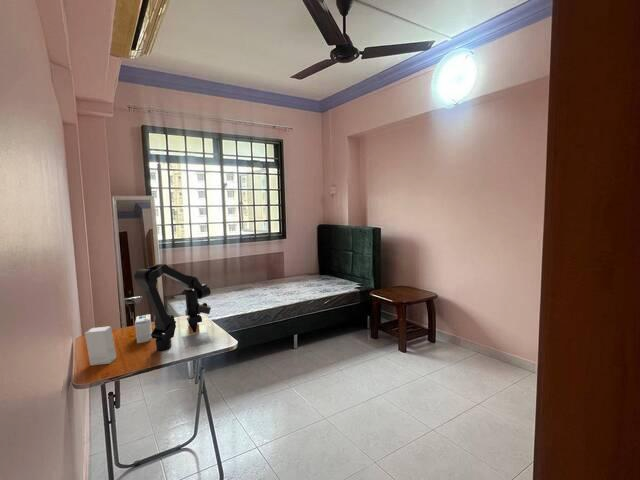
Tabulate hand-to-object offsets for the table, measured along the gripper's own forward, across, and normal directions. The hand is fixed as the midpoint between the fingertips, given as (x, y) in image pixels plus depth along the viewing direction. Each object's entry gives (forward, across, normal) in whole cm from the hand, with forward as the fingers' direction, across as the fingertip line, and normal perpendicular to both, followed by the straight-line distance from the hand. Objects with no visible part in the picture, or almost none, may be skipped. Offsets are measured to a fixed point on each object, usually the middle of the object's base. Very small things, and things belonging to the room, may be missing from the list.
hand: (194, 332), depth 170 cm
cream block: (-1, +2, 0) cm, 2 cm away
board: (+2, -2, 0) cm, 3 cm away
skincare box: (+2, -9, +38) cm, 40 cm away
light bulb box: (+2, +12, +23) cm, 26 cm away
